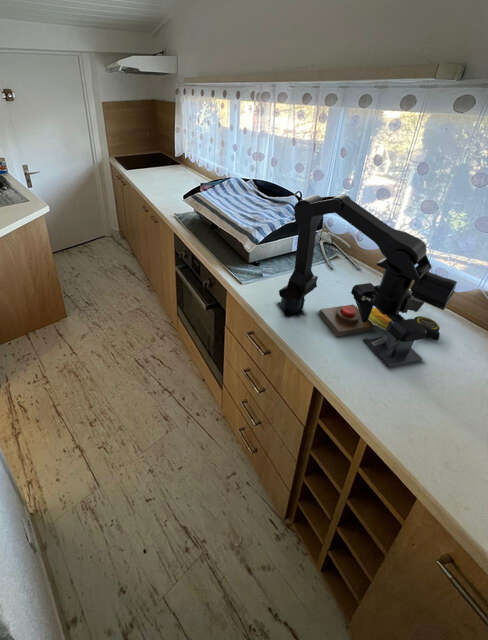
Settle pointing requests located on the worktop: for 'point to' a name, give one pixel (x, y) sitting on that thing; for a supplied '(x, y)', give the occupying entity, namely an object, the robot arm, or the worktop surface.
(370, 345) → the lever
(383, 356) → the bracket
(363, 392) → the worktop surface
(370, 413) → the worktop surface
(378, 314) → the yellow donut
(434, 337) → the tape measure
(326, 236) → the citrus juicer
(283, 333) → the worktop surface
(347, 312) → the button
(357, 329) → the button block
